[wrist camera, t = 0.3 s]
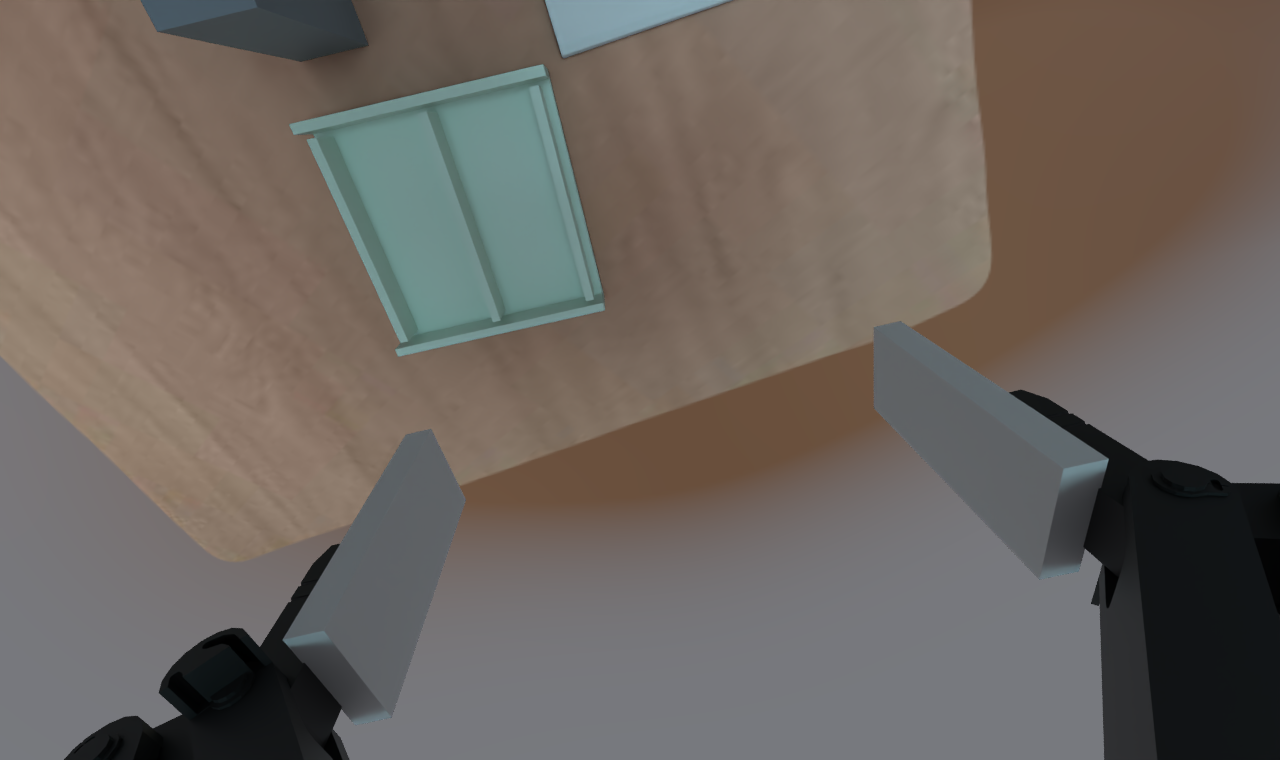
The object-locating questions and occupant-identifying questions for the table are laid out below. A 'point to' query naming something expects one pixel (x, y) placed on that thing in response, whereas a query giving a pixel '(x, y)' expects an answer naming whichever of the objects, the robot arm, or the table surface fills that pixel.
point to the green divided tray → (462, 208)
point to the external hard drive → (613, 19)
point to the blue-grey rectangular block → (263, 25)
